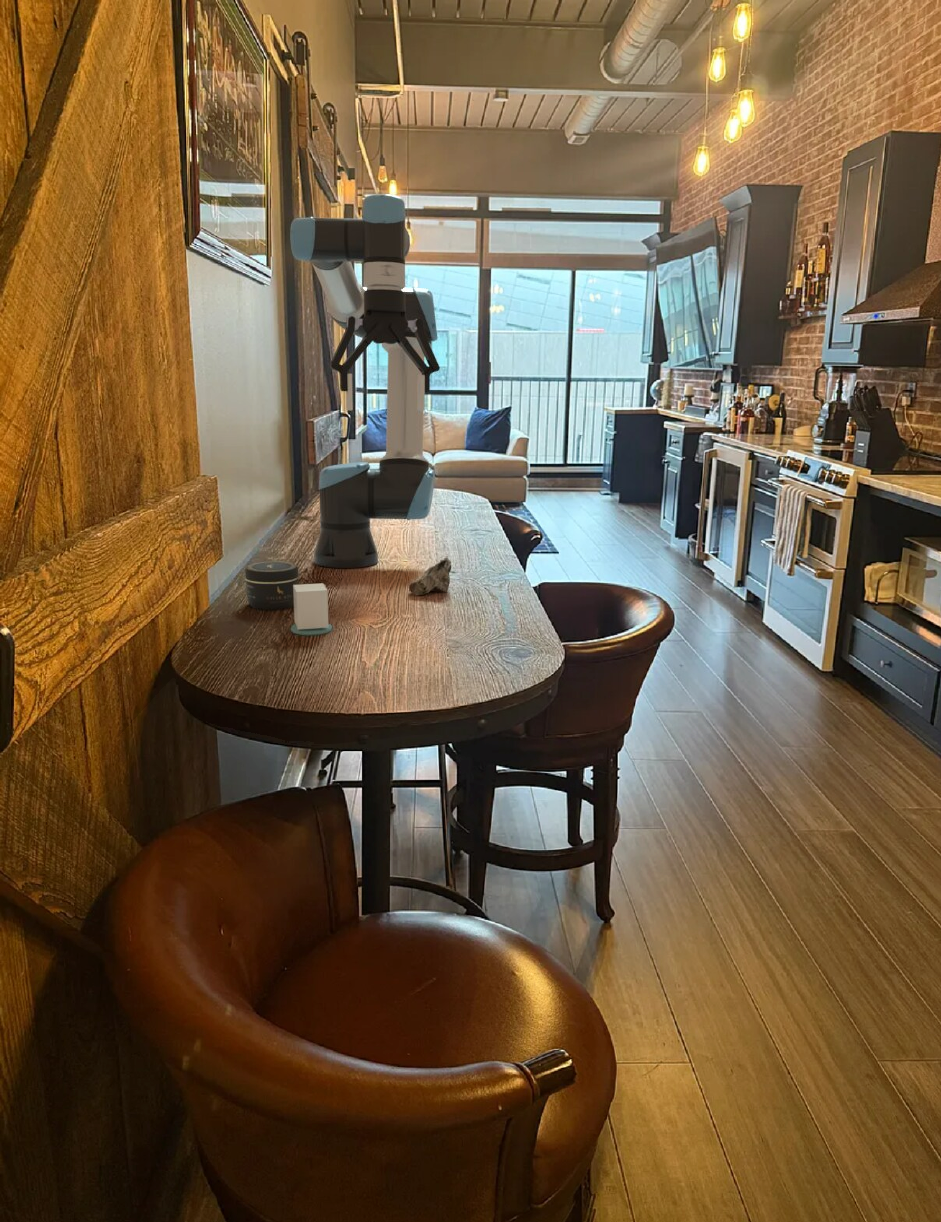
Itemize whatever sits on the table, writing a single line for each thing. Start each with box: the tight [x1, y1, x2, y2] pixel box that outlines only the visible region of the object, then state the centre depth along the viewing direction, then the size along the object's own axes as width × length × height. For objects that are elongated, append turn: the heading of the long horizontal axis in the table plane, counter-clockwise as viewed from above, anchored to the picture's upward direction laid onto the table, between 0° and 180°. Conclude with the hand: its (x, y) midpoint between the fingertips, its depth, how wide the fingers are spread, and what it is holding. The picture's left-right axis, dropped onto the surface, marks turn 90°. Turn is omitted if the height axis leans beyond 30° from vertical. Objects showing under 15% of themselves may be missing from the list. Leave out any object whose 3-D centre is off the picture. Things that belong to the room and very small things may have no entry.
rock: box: [408, 555, 452, 597], centre depth 176 cm, size 9×7×10 cm
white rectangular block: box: [293, 582, 329, 629], centre depth 148 cm, size 5×5×7 cm
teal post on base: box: [290, 622, 333, 636], centre depth 148 cm, size 7×7×7 cm
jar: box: [244, 560, 299, 611], centre depth 164 cm, size 10×10×8 cm
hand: (385, 410), depth 160 cm, fingers open, 13 cm apart
